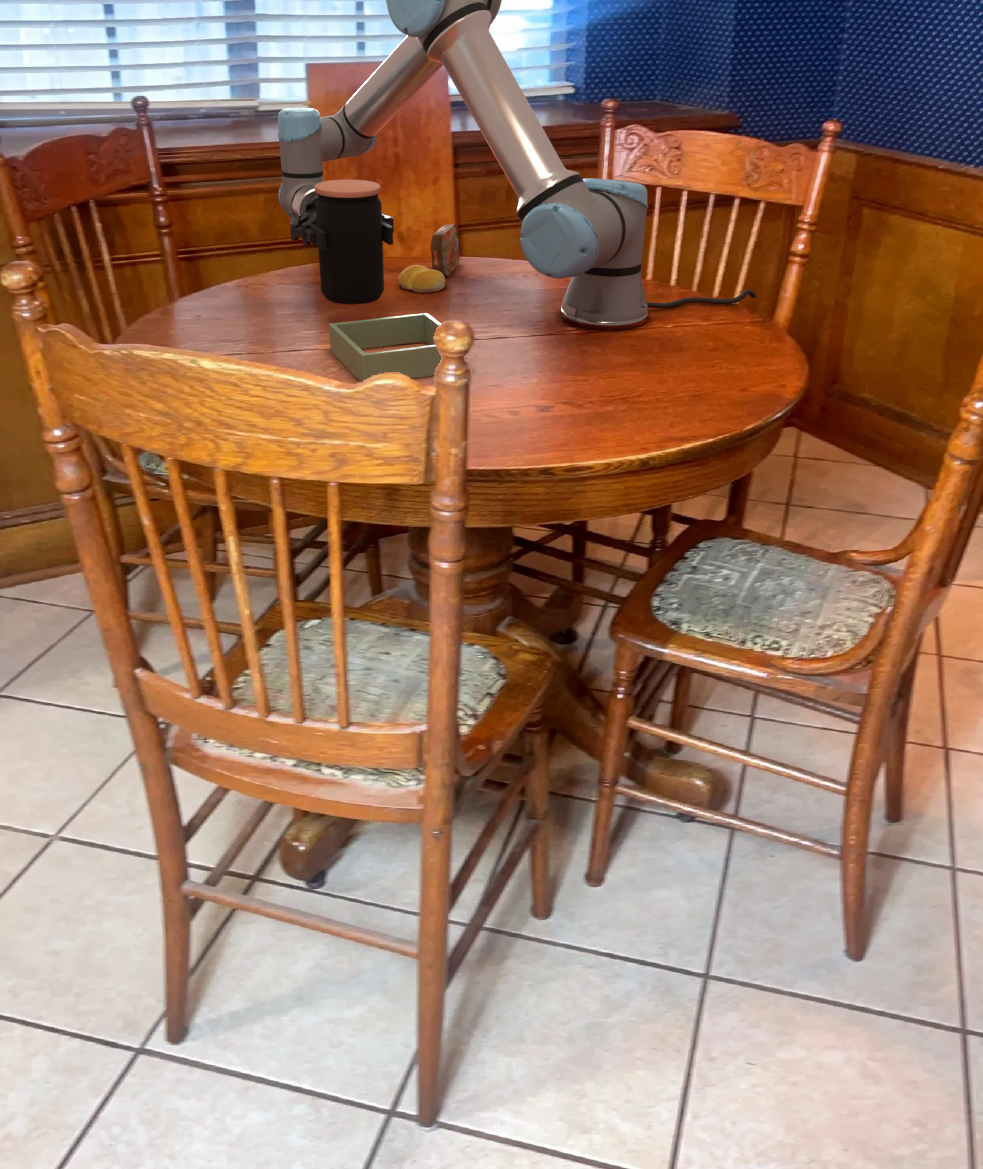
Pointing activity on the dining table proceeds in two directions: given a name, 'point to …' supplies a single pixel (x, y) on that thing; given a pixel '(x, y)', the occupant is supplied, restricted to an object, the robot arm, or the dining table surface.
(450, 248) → the tin
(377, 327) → the tray
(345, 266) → the coffee jar
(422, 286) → the bread roll
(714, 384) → the dining table surface
